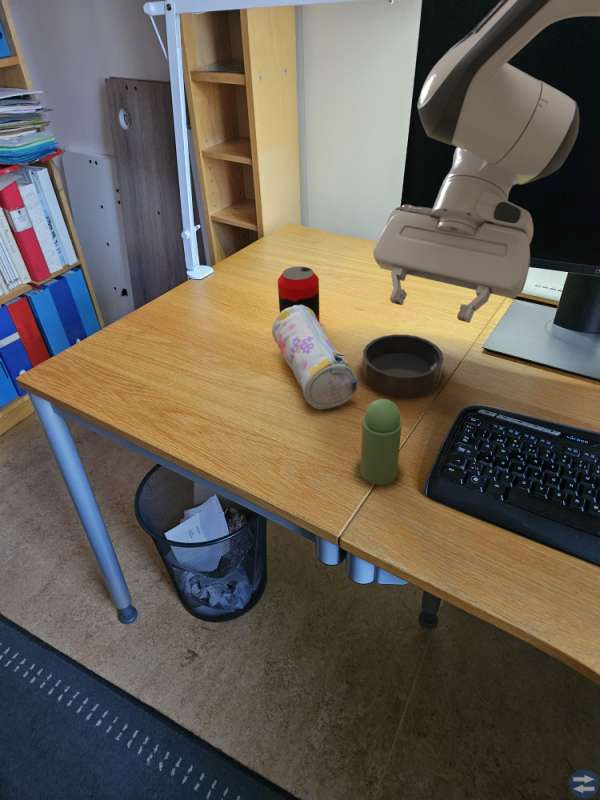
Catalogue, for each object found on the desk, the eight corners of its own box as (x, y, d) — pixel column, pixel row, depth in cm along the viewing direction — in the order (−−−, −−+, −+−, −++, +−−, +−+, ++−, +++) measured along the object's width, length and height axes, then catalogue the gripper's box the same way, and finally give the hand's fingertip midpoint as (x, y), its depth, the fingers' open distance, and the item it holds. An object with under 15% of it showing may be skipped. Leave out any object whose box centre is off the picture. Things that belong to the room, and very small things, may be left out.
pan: (447, 361, 98) (450, 341, 96) (431, 404, 89) (434, 384, 86) (374, 348, 102) (375, 329, 100) (352, 388, 93) (352, 368, 90)
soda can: (327, 329, 108) (327, 271, 101) (301, 345, 104) (298, 286, 97) (299, 316, 113) (297, 260, 105) (272, 331, 108) (268, 274, 101)
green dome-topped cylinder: (400, 464, 78) (408, 395, 71) (391, 489, 75) (398, 418, 67) (366, 456, 80) (370, 387, 72) (355, 479, 76) (358, 409, 69)
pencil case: (359, 407, 89) (361, 357, 83) (307, 419, 87) (305, 369, 81) (315, 342, 105) (315, 297, 99) (271, 351, 103) (267, 305, 97)
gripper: (388, 190, 76) (351, 284, 75) (543, 215, 66) (502, 323, 66) (400, 213, 81) (365, 301, 81) (545, 239, 72) (507, 338, 72)
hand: (428, 311), depth 73 cm, fingers open, 8 cm apart
